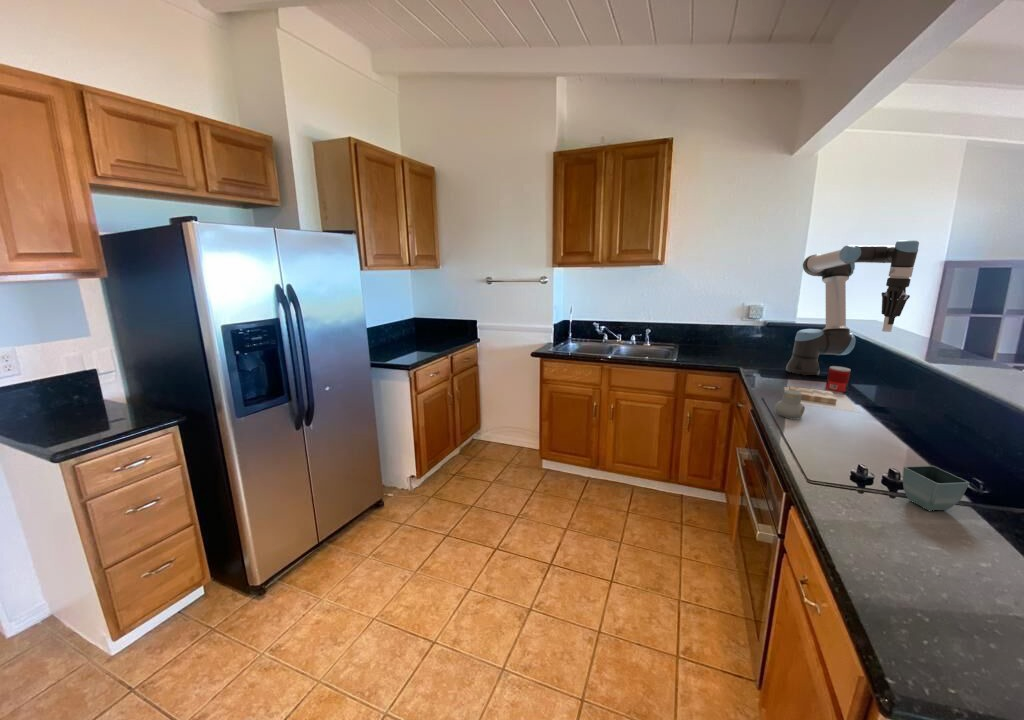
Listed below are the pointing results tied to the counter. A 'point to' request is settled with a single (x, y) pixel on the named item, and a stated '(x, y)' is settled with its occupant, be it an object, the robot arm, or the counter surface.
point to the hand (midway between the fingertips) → (886, 331)
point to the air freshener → (790, 405)
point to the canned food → (838, 378)
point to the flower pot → (933, 487)
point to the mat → (841, 404)
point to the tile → (815, 395)
